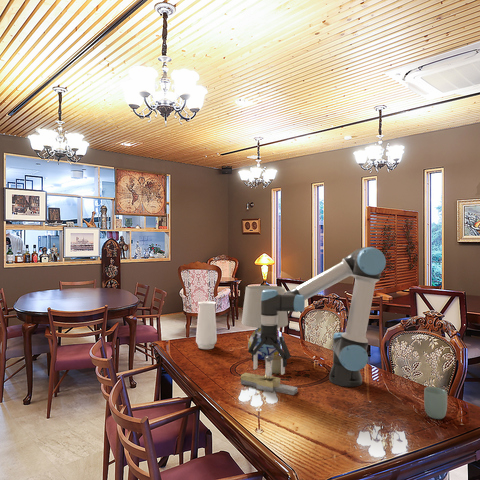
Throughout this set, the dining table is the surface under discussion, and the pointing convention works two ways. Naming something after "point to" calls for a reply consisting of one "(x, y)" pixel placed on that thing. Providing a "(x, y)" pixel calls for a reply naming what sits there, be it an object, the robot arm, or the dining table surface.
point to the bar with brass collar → (267, 384)
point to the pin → (268, 368)
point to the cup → (435, 402)
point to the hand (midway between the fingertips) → (268, 371)
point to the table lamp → (253, 317)
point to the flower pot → (276, 364)
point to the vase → (206, 325)
